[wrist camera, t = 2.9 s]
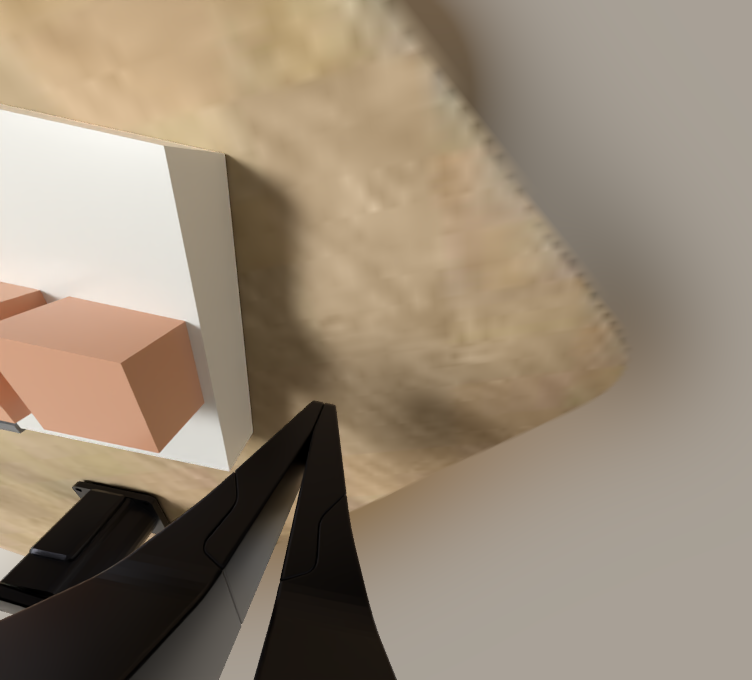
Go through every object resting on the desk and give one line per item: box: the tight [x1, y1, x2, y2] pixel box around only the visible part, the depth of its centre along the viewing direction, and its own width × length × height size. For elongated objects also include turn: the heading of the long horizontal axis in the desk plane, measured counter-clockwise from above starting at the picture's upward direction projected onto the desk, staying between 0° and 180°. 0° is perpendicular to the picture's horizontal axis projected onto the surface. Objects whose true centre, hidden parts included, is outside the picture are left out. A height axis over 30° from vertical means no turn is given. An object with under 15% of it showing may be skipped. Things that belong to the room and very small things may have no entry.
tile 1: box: [0, 296, 204, 453], centre depth 9 cm, size 4×4×2 cm
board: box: [0, 104, 253, 471], centre depth 11 cm, size 14×11×2 cm
